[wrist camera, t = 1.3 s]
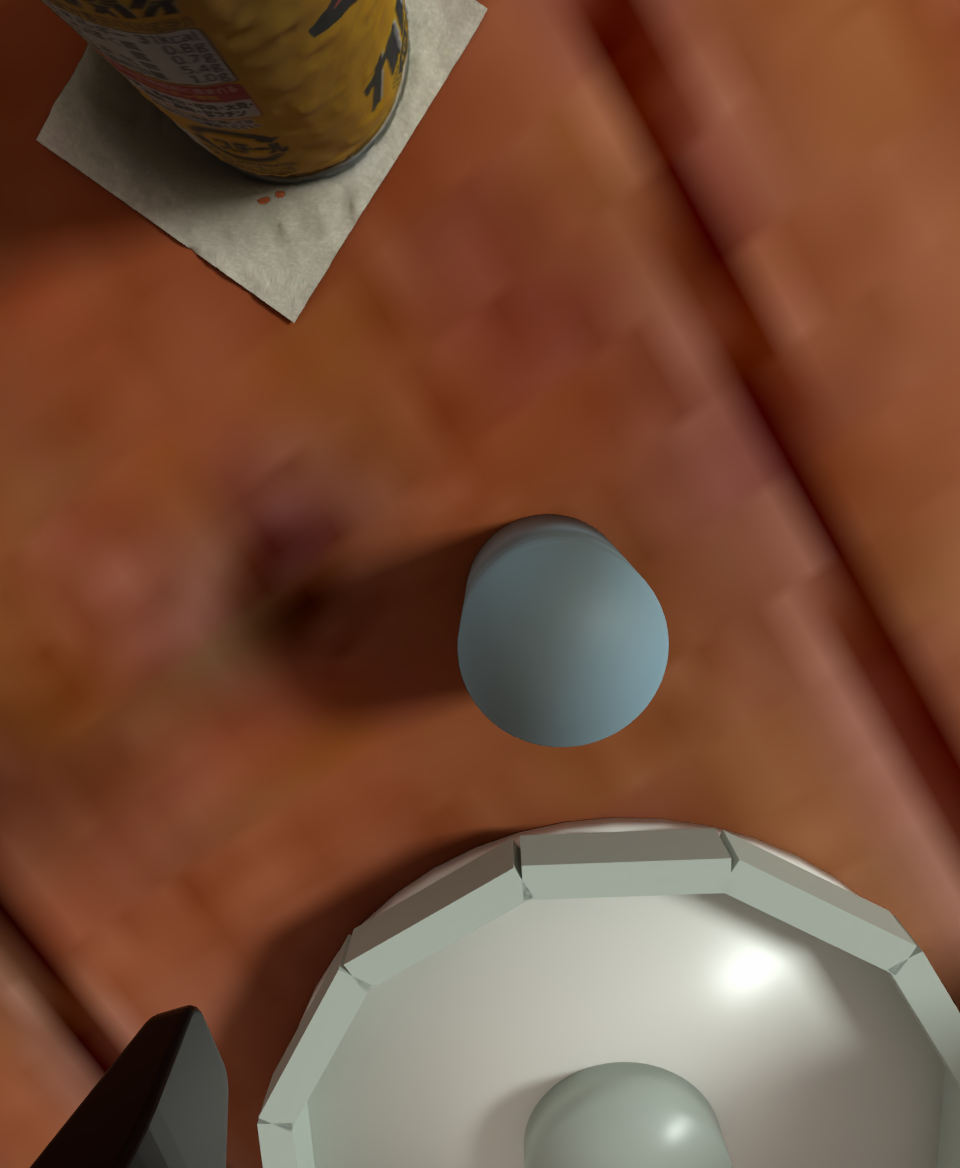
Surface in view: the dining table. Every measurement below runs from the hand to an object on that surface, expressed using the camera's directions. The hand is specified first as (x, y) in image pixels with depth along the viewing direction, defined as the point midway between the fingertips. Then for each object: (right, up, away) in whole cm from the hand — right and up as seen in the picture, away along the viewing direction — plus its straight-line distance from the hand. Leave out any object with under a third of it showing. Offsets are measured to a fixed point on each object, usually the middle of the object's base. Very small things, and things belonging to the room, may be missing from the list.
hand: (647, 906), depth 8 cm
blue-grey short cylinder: (0, +3, +13) cm, 14 cm away
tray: (+3, -14, +17) cm, 22 cm away
